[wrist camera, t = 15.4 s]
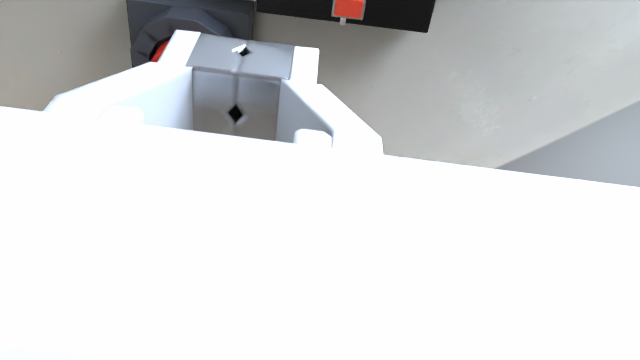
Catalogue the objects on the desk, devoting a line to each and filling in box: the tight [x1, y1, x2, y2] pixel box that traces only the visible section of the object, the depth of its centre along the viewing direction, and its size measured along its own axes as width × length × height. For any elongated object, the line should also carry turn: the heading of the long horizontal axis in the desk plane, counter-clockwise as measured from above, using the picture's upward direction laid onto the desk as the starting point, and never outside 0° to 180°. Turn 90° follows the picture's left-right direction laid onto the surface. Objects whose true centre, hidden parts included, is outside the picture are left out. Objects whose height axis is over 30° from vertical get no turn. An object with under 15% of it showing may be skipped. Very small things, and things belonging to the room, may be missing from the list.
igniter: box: [126, 0, 254, 68], centre depth 39 cm, size 8×7×4 cm
